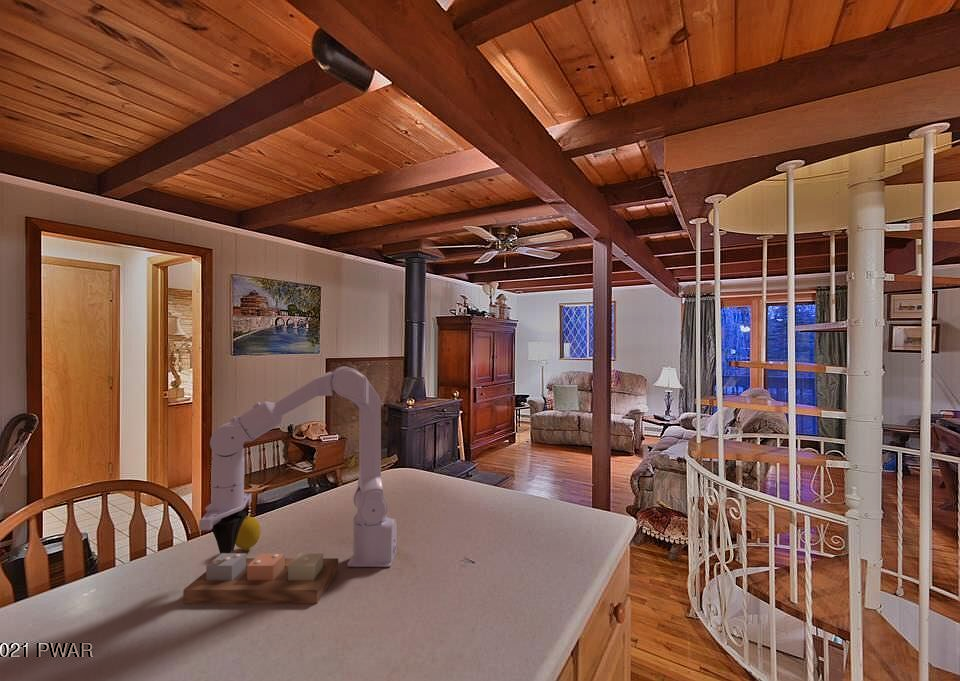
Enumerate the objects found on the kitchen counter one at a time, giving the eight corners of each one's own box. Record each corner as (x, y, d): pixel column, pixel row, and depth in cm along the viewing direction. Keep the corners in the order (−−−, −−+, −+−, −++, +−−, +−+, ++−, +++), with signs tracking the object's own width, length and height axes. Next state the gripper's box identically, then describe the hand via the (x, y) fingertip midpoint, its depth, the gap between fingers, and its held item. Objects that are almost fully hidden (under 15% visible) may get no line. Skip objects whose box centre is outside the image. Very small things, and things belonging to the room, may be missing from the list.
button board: (338, 570, 91) (338, 558, 92) (317, 603, 79) (317, 589, 80) (222, 569, 91) (222, 558, 91) (183, 603, 79) (183, 589, 79)
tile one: (323, 570, 88) (323, 552, 88) (313, 583, 83) (313, 564, 83) (298, 570, 88) (299, 552, 88) (288, 583, 83) (288, 564, 83)
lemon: (248, 557, 97) (249, 521, 97) (227, 554, 98) (228, 519, 98) (265, 546, 103) (266, 512, 103) (245, 543, 104) (246, 510, 104)
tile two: (284, 570, 88) (284, 552, 88) (272, 583, 83) (273, 564, 83) (260, 570, 88) (260, 552, 88) (247, 583, 83) (247, 564, 83)
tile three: (245, 569, 88) (246, 552, 88) (231, 583, 83) (232, 564, 83) (221, 569, 88) (221, 552, 88) (206, 583, 83) (206, 564, 83)
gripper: (229, 473, 93) (228, 535, 93) (183, 495, 79) (181, 570, 78) (261, 473, 93) (260, 535, 93) (221, 496, 79) (220, 570, 78)
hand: (226, 551), depth 86 cm, fingers closed
